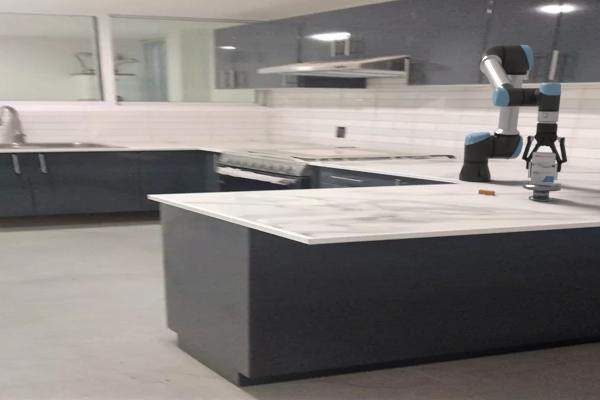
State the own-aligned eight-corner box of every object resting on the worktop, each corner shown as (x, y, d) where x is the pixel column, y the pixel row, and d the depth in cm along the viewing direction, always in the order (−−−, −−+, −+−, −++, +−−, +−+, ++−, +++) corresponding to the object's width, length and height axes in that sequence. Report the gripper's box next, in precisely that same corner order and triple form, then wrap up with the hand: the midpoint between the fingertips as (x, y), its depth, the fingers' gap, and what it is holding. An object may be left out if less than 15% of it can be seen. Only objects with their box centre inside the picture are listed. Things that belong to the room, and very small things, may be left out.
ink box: (553, 181, 216) (556, 152, 214) (553, 182, 212) (556, 153, 209) (530, 179, 220) (533, 151, 217) (530, 181, 215) (532, 152, 213)
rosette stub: (517, 199, 216) (518, 182, 215) (527, 194, 227) (529, 178, 225) (554, 204, 207) (556, 186, 206) (563, 198, 218) (565, 181, 217)
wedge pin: (478, 194, 229) (478, 190, 228) (480, 193, 231) (481, 189, 230) (492, 196, 225) (492, 191, 224) (494, 195, 227) (494, 190, 226)
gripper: (515, 122, 215) (511, 177, 219) (575, 123, 202) (569, 182, 206) (521, 121, 221) (517, 175, 225) (580, 123, 207) (574, 180, 212)
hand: (542, 178), depth 215 cm, fingers closed on ink box, 9 cm apart
